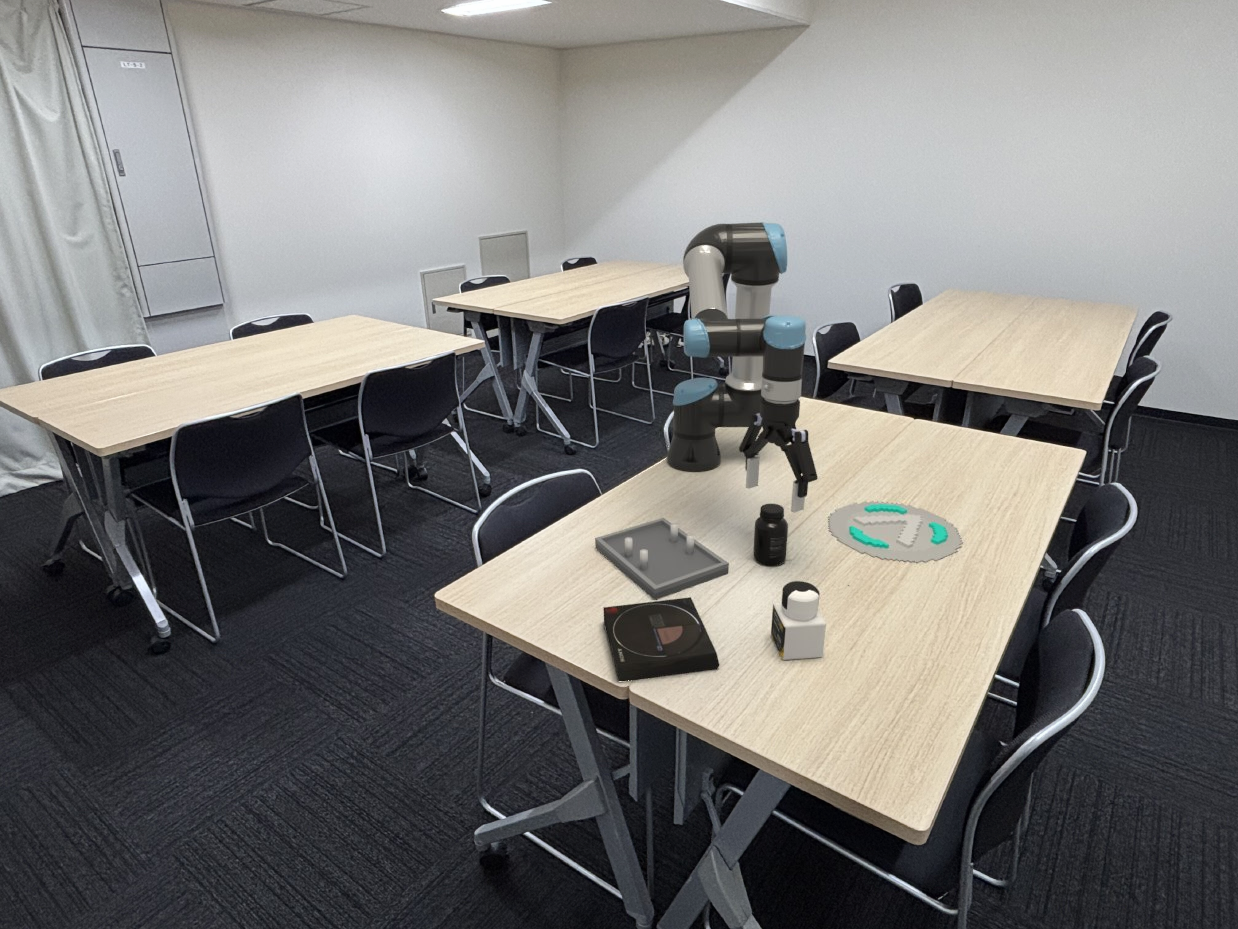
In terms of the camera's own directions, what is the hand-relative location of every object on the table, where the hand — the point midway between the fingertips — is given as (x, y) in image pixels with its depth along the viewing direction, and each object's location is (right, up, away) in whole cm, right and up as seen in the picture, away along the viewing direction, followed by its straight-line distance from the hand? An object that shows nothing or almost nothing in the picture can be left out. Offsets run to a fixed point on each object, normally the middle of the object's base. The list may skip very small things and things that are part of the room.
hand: (773, 498), depth 145 cm
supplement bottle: (0, -13, +6) cm, 15 cm away
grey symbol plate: (+31, -9, +17) cm, 36 cm away
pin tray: (-23, -14, +6) cm, 27 cm away
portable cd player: (-25, -25, -20) cm, 41 cm away
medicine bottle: (-1, -25, -21) cm, 33 cm away
